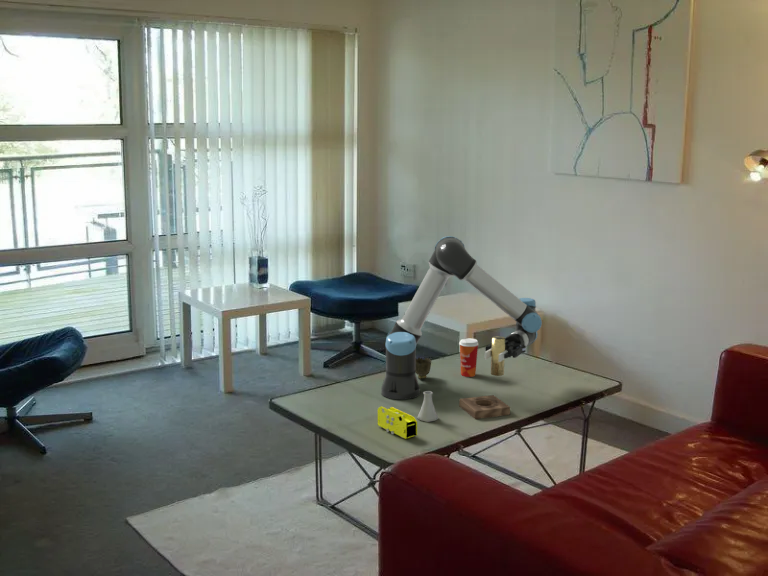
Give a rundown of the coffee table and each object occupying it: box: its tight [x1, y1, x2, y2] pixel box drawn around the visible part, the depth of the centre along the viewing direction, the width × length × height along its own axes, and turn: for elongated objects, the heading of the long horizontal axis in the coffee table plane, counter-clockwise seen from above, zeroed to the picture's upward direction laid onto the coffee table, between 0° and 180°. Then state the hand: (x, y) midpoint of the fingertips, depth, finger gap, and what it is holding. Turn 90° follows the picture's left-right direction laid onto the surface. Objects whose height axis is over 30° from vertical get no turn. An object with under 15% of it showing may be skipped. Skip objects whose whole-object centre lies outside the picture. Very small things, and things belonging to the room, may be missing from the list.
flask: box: [417, 390, 439, 423], centre depth 305 cm, size 7×7×10 cm
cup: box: [415, 357, 432, 380], centre depth 351 cm, size 8×7×8 cm
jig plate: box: [458, 394, 511, 420], centre depth 314 cm, size 14×14×3 cm
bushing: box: [490, 335, 506, 377], centre depth 318 cm, size 5×5×14 cm
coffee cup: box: [458, 337, 480, 378], centre depth 355 cm, size 8×8×15 cm
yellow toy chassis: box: [377, 405, 418, 440], centre depth 293 cm, size 16×6×8 cm, turn 37°
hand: (492, 356), depth 313 cm, fingers closed on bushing, 5 cm apart
